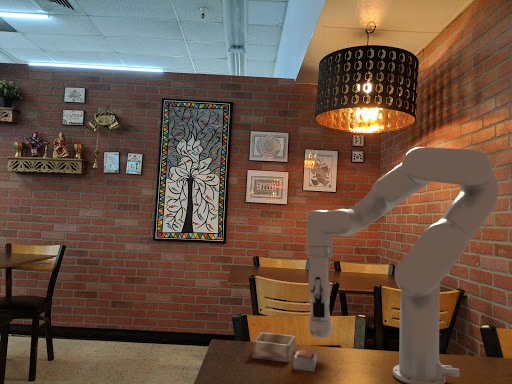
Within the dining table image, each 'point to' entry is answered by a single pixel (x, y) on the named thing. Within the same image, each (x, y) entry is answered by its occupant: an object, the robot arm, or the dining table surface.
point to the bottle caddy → (274, 347)
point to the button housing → (305, 363)
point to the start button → (305, 354)
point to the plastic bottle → (318, 324)
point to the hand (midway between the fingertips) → (319, 314)
